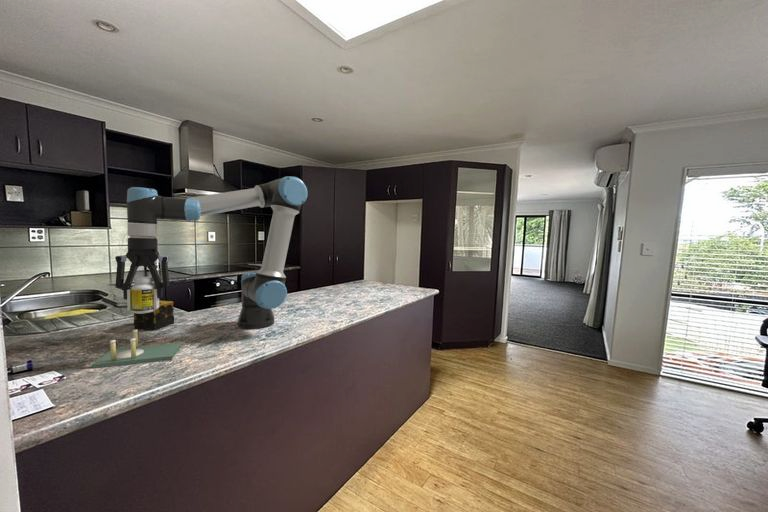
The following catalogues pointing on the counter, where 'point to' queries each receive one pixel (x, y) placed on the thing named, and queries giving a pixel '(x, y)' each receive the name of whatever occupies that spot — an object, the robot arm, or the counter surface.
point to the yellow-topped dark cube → (155, 317)
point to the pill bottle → (143, 295)
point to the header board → (136, 353)
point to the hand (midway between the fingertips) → (143, 308)
